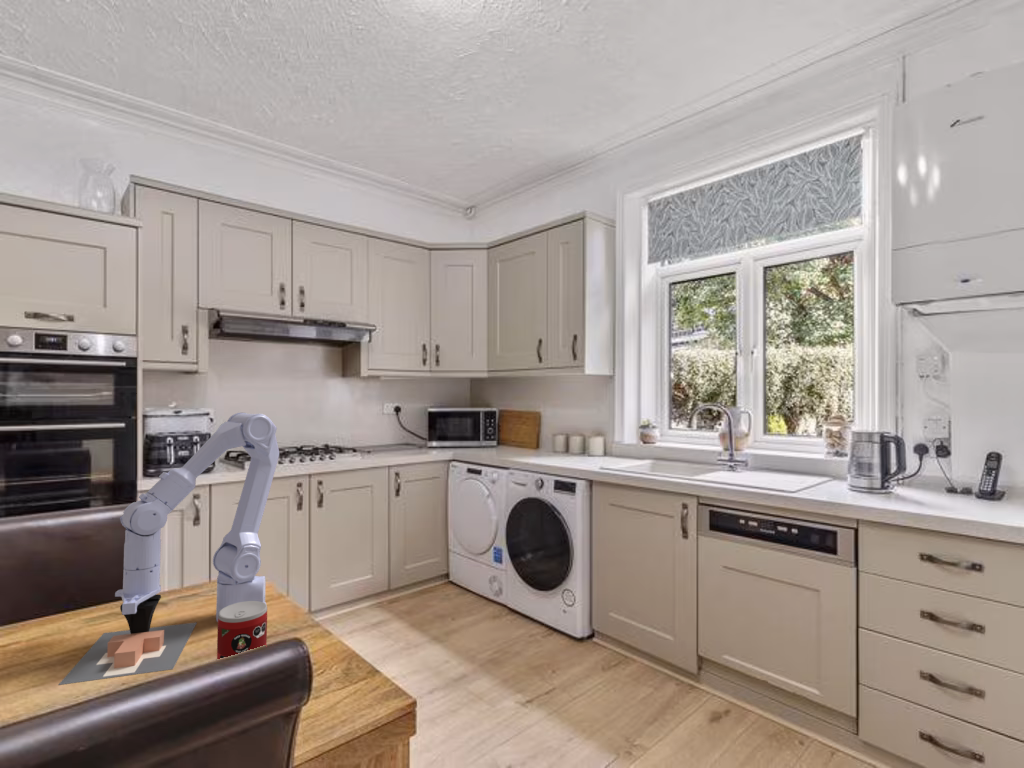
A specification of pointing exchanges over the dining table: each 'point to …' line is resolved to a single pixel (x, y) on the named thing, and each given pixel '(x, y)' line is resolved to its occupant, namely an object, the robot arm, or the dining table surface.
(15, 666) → the dining table surface
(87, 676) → the board
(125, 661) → the t block
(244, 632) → the canned food
